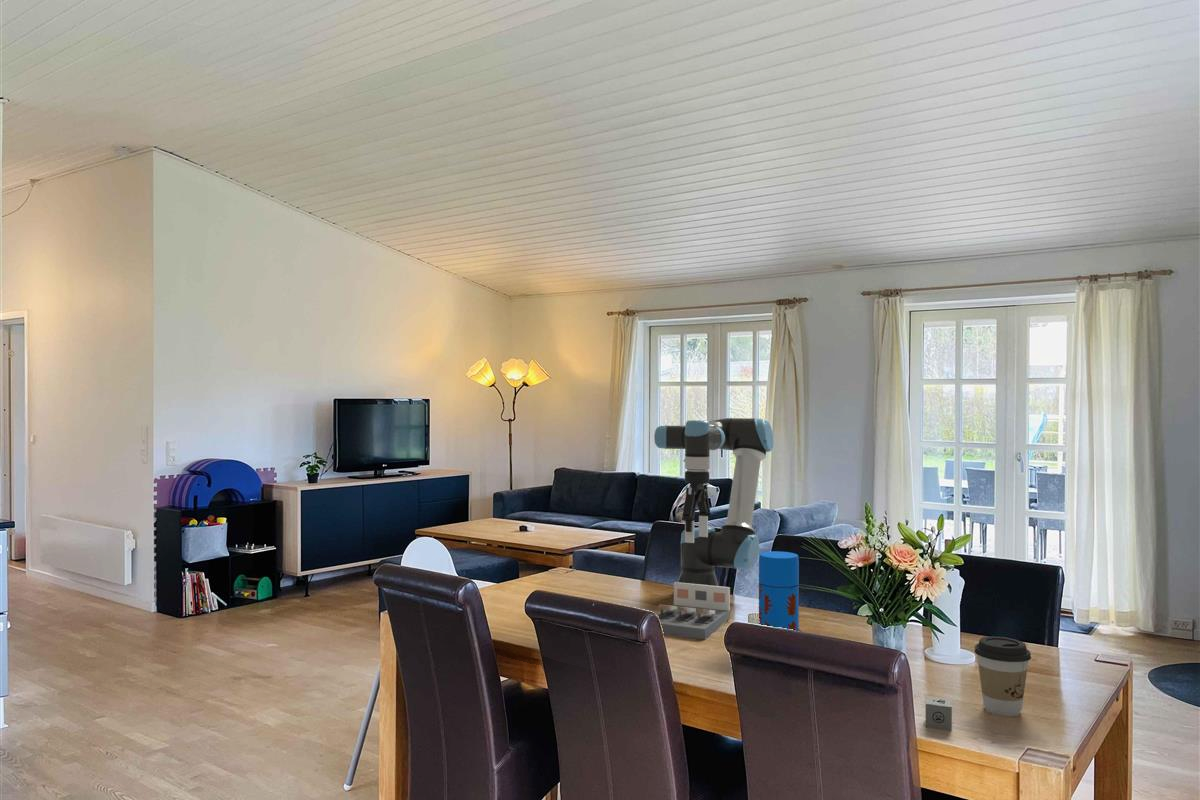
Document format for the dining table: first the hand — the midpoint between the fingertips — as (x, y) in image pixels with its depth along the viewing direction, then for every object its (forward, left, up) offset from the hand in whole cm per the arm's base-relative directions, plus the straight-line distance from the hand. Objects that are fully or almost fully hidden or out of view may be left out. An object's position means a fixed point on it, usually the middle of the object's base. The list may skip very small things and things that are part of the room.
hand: (696, 539), depth 260 cm
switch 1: (+8, -6, -20) cm, 22 cm away
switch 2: (+8, 0, -20) cm, 21 cm away
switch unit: (+6, 0, -25) cm, 26 cm away
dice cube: (+57, +73, -25) cm, 96 cm away
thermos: (+14, +29, -25) cm, 41 cm away
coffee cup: (+42, +85, -25) cm, 98 cm away
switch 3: (+8, +6, -20) cm, 22 cm away
